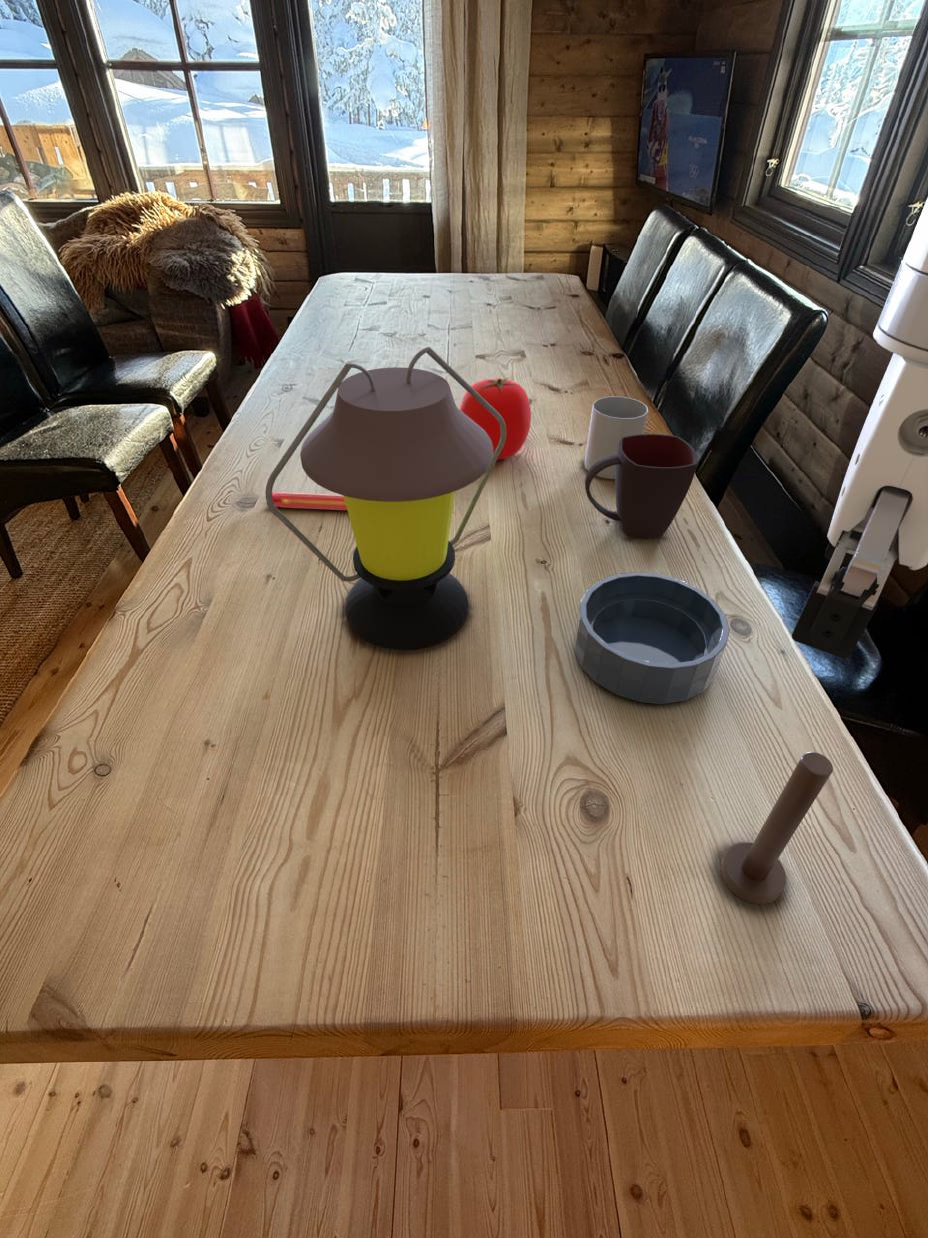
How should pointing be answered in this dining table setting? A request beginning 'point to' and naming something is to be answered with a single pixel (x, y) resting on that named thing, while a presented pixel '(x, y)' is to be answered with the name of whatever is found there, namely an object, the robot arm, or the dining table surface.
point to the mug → (647, 482)
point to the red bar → (309, 501)
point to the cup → (612, 428)
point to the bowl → (650, 637)
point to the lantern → (397, 495)
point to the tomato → (508, 404)
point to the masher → (775, 835)
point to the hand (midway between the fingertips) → (834, 602)
